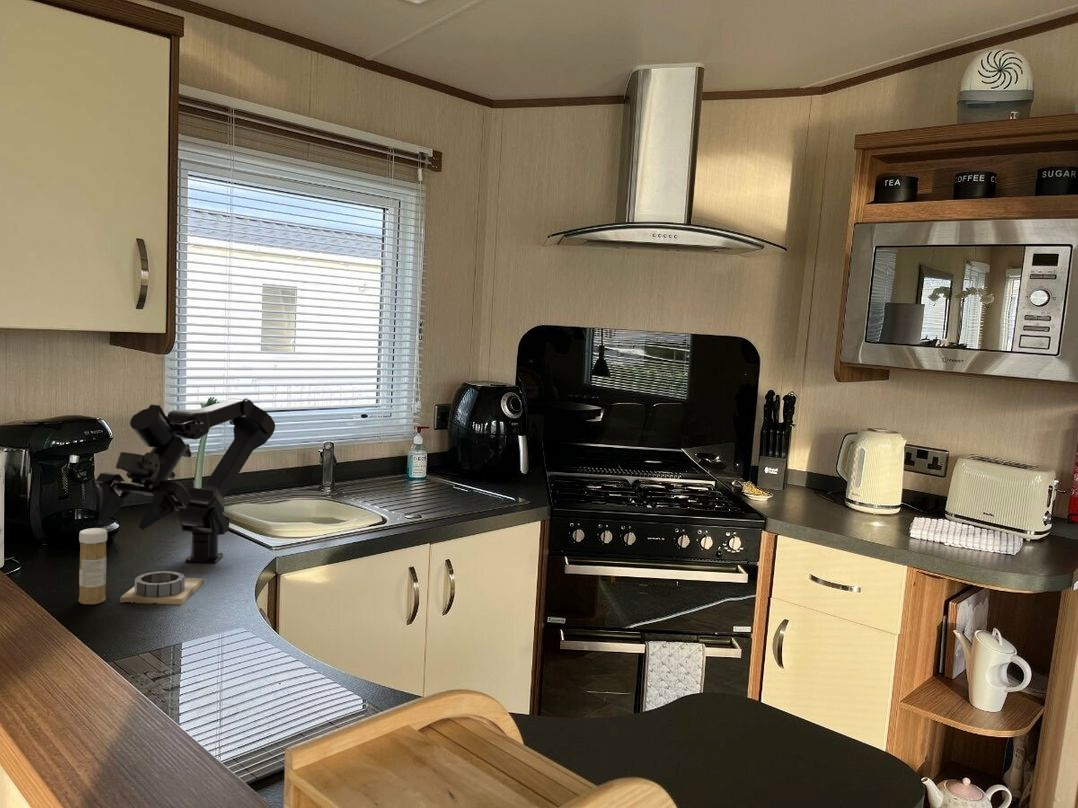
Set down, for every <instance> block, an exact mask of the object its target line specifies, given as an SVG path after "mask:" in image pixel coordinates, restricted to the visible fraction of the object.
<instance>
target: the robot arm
mask: <svg viewBox="0 0 1078 808" xmlns="http://www.w3.org/2000/svg"><path fill="white" fill-rule="evenodd" d="M129 421H130V422H129V425H130V427H131V429H132V430H133V432H134V433H135V434H136V435H137V436H138V438H139V439H140V440H141V442H143V444H144V445H145V446H147V447H148V448H151V450H150V451H149V452H148V451H147V452H146V453H144V454H139V453H132V452H126V451H121V452H120V453H119V455H118V459H117V461H116V465H115V469H117V470H121V471H124V472H126V474H125V476H126V478H128V479H131V481H126V480H125V479H124V478H123V476H121V474H120V473H114V472H107V471H105V472H100V473H99V474H98V476H97V478H96V479H95V480H94V483H95V484H96V485H97V486H98V489H99V490H100V491H101V492H102V502H101V507H100V513H99V517H98V523H99V524H101V525H104V524H105V523H106V522H107V521H108V520H110V519H111V517H113V515H114V514H115V513H116V512H117V511H118V510H119V509H120V508H121V507H122V506H123V505H124V504H125V503H126V501H125V499H126V498H128V497H129V495H130V494H132V493H133V494H139V495H140V494H141V495H145V496H152V501H151V503H150V505H149V507H148V508H147V510H146V512H145V514H144V515H143V517H142V519H141V520H140V522H139V524H138V529H139V530H140V531H143V530H145V529H147V528H148V527H150V526H152V525H153V524H154V523H156V522H158V521H160V520H161V519H163V518H164V517H166V516H168V515H170V514H171V513H173V512H177V515H178V519H179V523H180V528H181V531H182V532H188V533H190V554H189V556H187V557H186V558H185V559H184V562H187V563H207V564H209V563H210V564H211V563H212V564H214V563H217V562H218V561H219V560H220V559H221V558H222V557H223V556H224V553H223V552H219V543H220V541H219V540H220V539H219V538H220V537H219V536H221V535H225V534H226V533H228V531H229V528H230V524H231V523H230V520H228V518H227V517H226V516H225V514H223V513H224V512H225V501H224V499H225V496H226V494H227V493H228V491H229V490H230V488H231V487H232V485H233V484H234V481H236V478H237V477H238V475H239V474H240V472H241V470H242V469H243V468H244V466H245V464H246V462H247V461H248V459H249V458H250V456H251V455H252V452H253V451H254V450H256V449H258V448H259V447H261V446H263V445H265V444H266V443H267V442H268V441H269V439H270V438H271V437H272V435H274V432H275V431H276V430H275V429H276V423H275V420H274V419H273V418H272V416H271V415H270V414H269V413H268V412H267V411H265V410H264V409H261V407H259V406H257V405H255V404H254V402H253V401H252V400H251V399H249V398H245V397H238V396H237V397H234V396H231V397H229V398H227V399H226V400H223V401H220V402H217V403H213V404H211V405H207V406H204V407H202V408H198V409H174V410H173V409H172V410H171V411H169V412H168V413H167V415H166V414H165V412H164V410H163V408H162V406H161V405H160V404H149V406H148V407H147V408H145V409H142V410H139V411H138V412H136V414H134V415H133V416H132V417H131V418H130V420H129ZM228 421H230V423H231V425H233V428H232V430H233V441H232V442H231V444H230V445H229V447H228V448H227V449H226V451H225V452H224V454H223V456H222V457H221V459H220V460H219V462H218V463H217V464H216V466H215V468H214V470H213V471H212V473H210V476H209V477H208V479H207V481H205V483H204V484H203V486H202V487H200V488H198V487H190V488H189V489H188V490H187V489H186V488H185V486H184V485H183V484H182V482H181V481H177V480H174V479H175V477H176V474H175V472H174V470H175V469H176V467H177V466H178V464H179V462H180V461H181V459H182V457H183V458H191V457H192V451H191V448H190V444H188V443H186V442H185V440H183V439H186V440H187V439H188V440H194V441H195V440H200V439H201V438H203V436H206V435H207V434H209V433H210V429H211V428H213V427H215V426H219V425H221V424H224V423H226V422H228ZM169 479H170V480H169ZM171 479H172V480H171Z"/></svg>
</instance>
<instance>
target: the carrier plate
mask: <svg viewBox="0 0 1078 808" xmlns="http://www.w3.org/2000/svg"><path fill="white" fill-rule="evenodd" d="M203 584H204V578H202V577H201V578H200V577H199V578H198V577H185V589H184V591H183V592H182V593H180V594H177V595H174V596H170V597H162V598H146V597H141V596H138V595H136V593H135V585H133V587H131V588H130V589H129V590H127V591H126V592H125V593H124V594H123V595H121V596H120V600H119V602H120V603H124V602H131V603H130V604H153V603H157V604H158V605H161V604H162V605H182V604H183V603H185V601H186V600H187V599H189V598H190V597H191V596H192V595H193V594H194V593H195V592H196V591H197V590H198V589H199V588H200V587H201V586H202V585H203ZM189 596H190V597H189ZM133 602H135V603H133ZM157 604H156V605H157Z"/></svg>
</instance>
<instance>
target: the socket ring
mask: <svg viewBox="0 0 1078 808" xmlns="http://www.w3.org/2000/svg"><path fill="white" fill-rule="evenodd" d="M185 578H186V577H185V575H184V574H183V573H181V572H176V571H167V570H166V571H165V570H163V571H153V572H146V573H143V574H140V575H138V576H136V577H135V578H134V586H135V593H136V595H138V596H141V597H146V598H162V597H170V596H174V595H177V594H180V593H182V592H183V591H184V589H185Z"/></svg>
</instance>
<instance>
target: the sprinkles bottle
mask: <svg viewBox="0 0 1078 808" xmlns="http://www.w3.org/2000/svg"><path fill="white" fill-rule="evenodd" d="M78 539H79V544H80V545H79V547H80V548H79V549H80V551H79V571H78V573H79V575H78V579H79V581H78V583H79V584H78V585H79V592H78V593H79V598H78V602H79V603H80V604H82V605H98V604H101V603H104V602H105V601H106V599H107V596H106V583H107V541H108V530H107V529H105V528H102V527H100V528H99V527H93V528H92V527H91V528H86V529H82V530H80V531H79V535H78Z"/></svg>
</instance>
